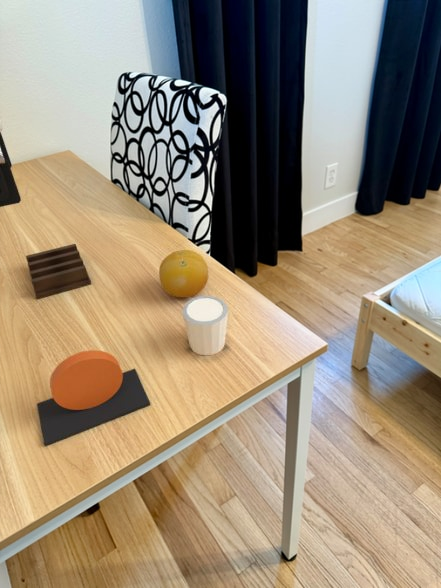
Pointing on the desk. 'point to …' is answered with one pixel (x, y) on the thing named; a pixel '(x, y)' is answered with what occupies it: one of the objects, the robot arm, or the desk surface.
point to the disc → (86, 380)
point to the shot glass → (206, 324)
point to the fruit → (183, 273)
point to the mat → (91, 411)
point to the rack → (57, 271)
